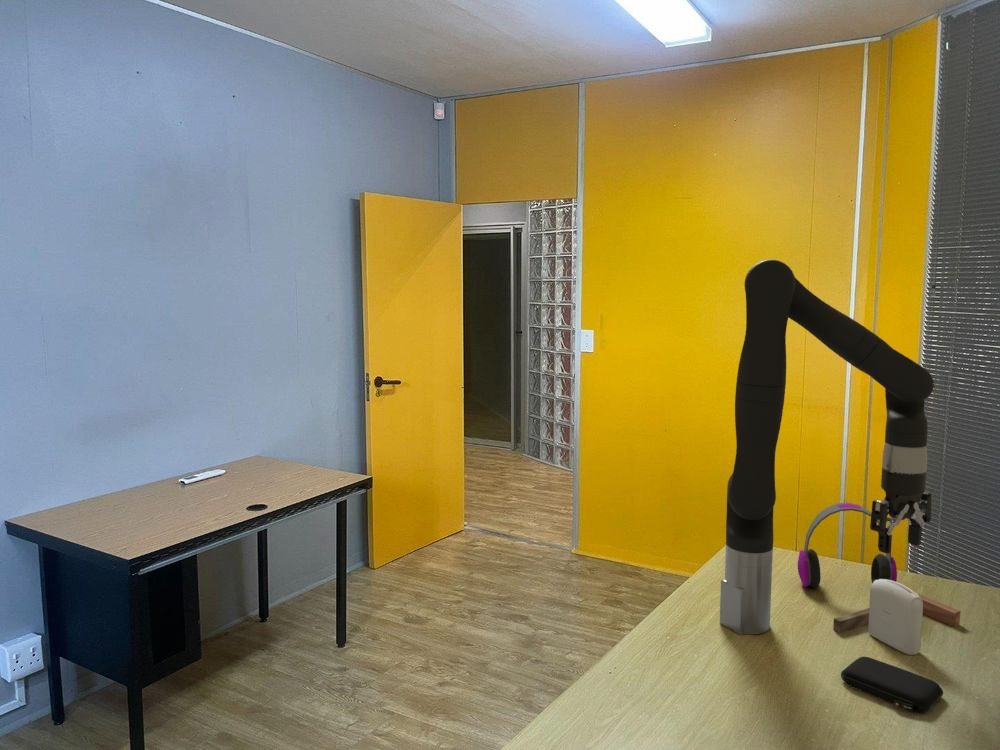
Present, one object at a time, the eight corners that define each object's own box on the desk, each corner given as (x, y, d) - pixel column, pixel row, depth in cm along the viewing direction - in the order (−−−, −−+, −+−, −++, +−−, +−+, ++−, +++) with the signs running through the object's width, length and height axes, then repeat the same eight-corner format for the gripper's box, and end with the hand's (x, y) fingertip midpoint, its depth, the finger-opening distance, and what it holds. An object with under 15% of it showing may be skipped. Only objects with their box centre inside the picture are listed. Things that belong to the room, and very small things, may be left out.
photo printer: (864, 633, 151) (867, 575, 149) (880, 629, 153) (883, 572, 151) (907, 657, 141) (911, 596, 140) (924, 653, 143) (928, 592, 141)
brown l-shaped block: (877, 652, 144) (877, 637, 143) (833, 630, 153) (833, 616, 152) (959, 624, 154) (960, 610, 154) (913, 605, 163) (914, 592, 163)
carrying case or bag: (833, 687, 132) (923, 723, 122) (834, 671, 132) (924, 706, 121) (858, 665, 140) (946, 698, 129) (859, 650, 139) (947, 681, 128)
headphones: (888, 585, 174) (894, 502, 171) (899, 601, 166) (905, 514, 163) (794, 577, 179) (798, 497, 176) (800, 593, 170) (804, 508, 168)
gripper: (910, 458, 149) (906, 536, 151) (861, 467, 142) (857, 548, 145) (947, 466, 142) (941, 548, 144) (896, 476, 136) (892, 561, 138)
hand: (899, 548), depth 144 cm, fingers open, 8 cm apart
